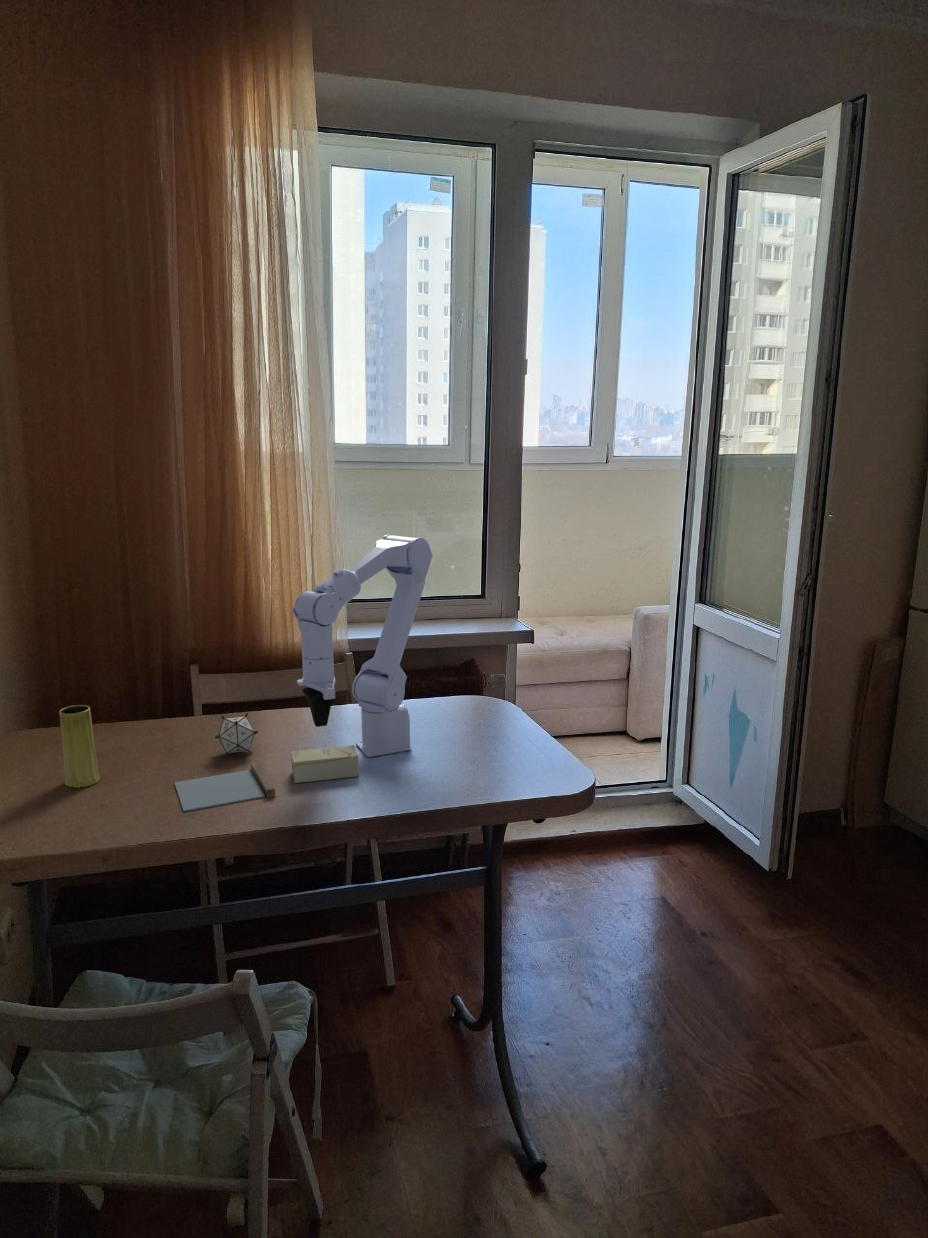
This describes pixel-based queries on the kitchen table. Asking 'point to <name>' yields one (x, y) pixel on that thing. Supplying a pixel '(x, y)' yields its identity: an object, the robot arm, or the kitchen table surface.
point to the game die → (236, 734)
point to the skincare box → (324, 764)
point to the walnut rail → (263, 779)
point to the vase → (78, 746)
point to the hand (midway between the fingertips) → (320, 725)
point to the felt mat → (218, 790)
